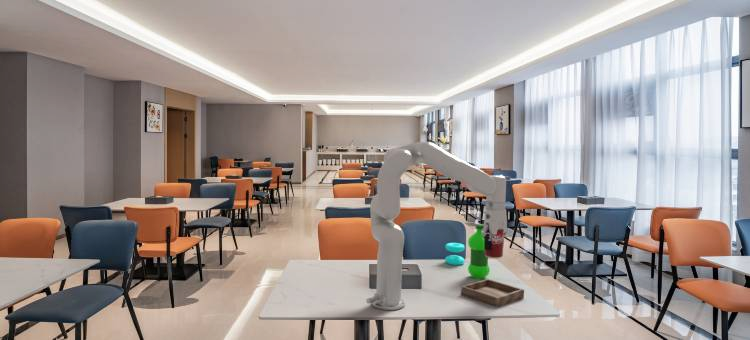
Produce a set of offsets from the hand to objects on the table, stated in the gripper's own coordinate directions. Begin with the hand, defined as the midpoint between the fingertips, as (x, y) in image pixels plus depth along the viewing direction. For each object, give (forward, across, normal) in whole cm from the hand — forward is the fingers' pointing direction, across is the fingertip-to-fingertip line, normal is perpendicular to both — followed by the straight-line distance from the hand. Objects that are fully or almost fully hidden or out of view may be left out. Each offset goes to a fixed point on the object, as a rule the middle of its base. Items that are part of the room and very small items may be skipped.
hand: (493, 248), depth 187 cm
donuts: (+20, +28, +44) cm, 56 cm away
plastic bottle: (+20, +17, +20) cm, 33 cm away
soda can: (+4, 0, 0) cm, 4 cm away
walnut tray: (+20, 0, 0) cm, 20 cm away
